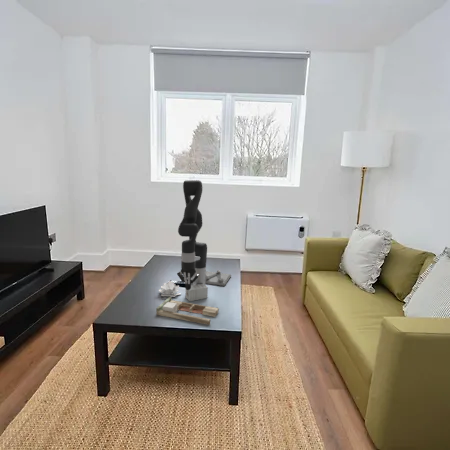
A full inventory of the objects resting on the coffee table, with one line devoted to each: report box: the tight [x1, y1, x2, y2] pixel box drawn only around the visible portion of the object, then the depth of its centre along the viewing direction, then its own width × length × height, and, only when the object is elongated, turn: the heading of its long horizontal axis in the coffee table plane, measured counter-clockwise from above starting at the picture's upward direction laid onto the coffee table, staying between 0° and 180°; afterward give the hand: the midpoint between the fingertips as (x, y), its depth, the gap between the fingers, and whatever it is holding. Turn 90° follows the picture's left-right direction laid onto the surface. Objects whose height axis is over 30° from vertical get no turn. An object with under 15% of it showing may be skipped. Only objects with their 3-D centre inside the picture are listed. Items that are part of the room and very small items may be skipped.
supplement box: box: [185, 284, 209, 302], centre depth 200 cm, size 7×7×13 cm
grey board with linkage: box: [206, 269, 232, 287], centre depth 233 cm, size 30×22×7 cm
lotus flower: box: [158, 280, 182, 298], centre depth 203 cm, size 14×15×9 cm
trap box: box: [155, 296, 220, 326], centre depth 179 cm, size 16×32×4 cm, turn 73°
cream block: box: [163, 302, 178, 313], centre depth 179 cm, size 6×6×5 cm
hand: (188, 289), depth 174 cm, fingers closed
